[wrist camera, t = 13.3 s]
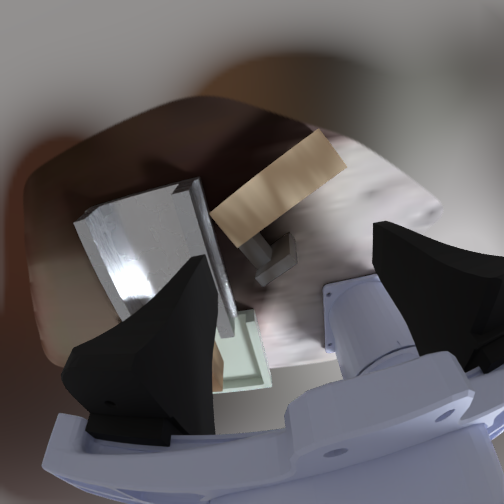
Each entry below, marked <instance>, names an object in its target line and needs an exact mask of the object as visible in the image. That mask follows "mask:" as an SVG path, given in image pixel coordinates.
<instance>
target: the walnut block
mask: <svg viewBox="0 0 504 504" xmlns="http://www.w3.org/2000/svg"><path fill="white" fill-rule="evenodd" d="M223 371H224V361H223V358H222V356H221V354H220V351H219V349H218V346H217V344H216V341H214V349H213V359H212V390H213V392H221V391H223Z"/></svg>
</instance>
